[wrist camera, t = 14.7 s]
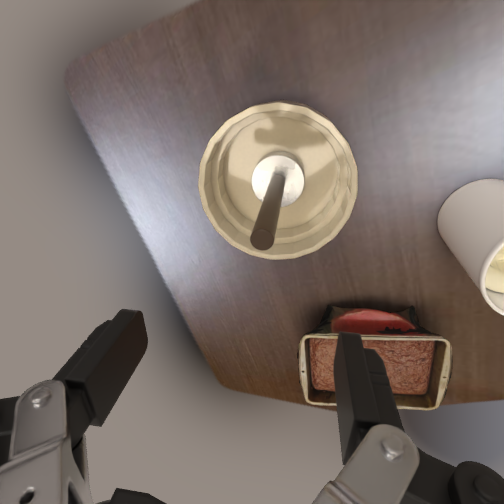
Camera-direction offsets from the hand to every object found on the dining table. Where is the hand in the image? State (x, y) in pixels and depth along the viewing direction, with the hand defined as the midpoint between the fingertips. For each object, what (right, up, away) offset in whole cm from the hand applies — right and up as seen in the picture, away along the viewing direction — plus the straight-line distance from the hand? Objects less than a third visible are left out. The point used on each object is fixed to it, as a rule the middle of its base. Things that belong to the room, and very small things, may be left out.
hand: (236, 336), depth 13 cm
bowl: (+4, +12, +23) cm, 26 cm away
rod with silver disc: (+4, +12, +22) cm, 25 cm away
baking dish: (+16, -9, +32) cm, 37 cm away
